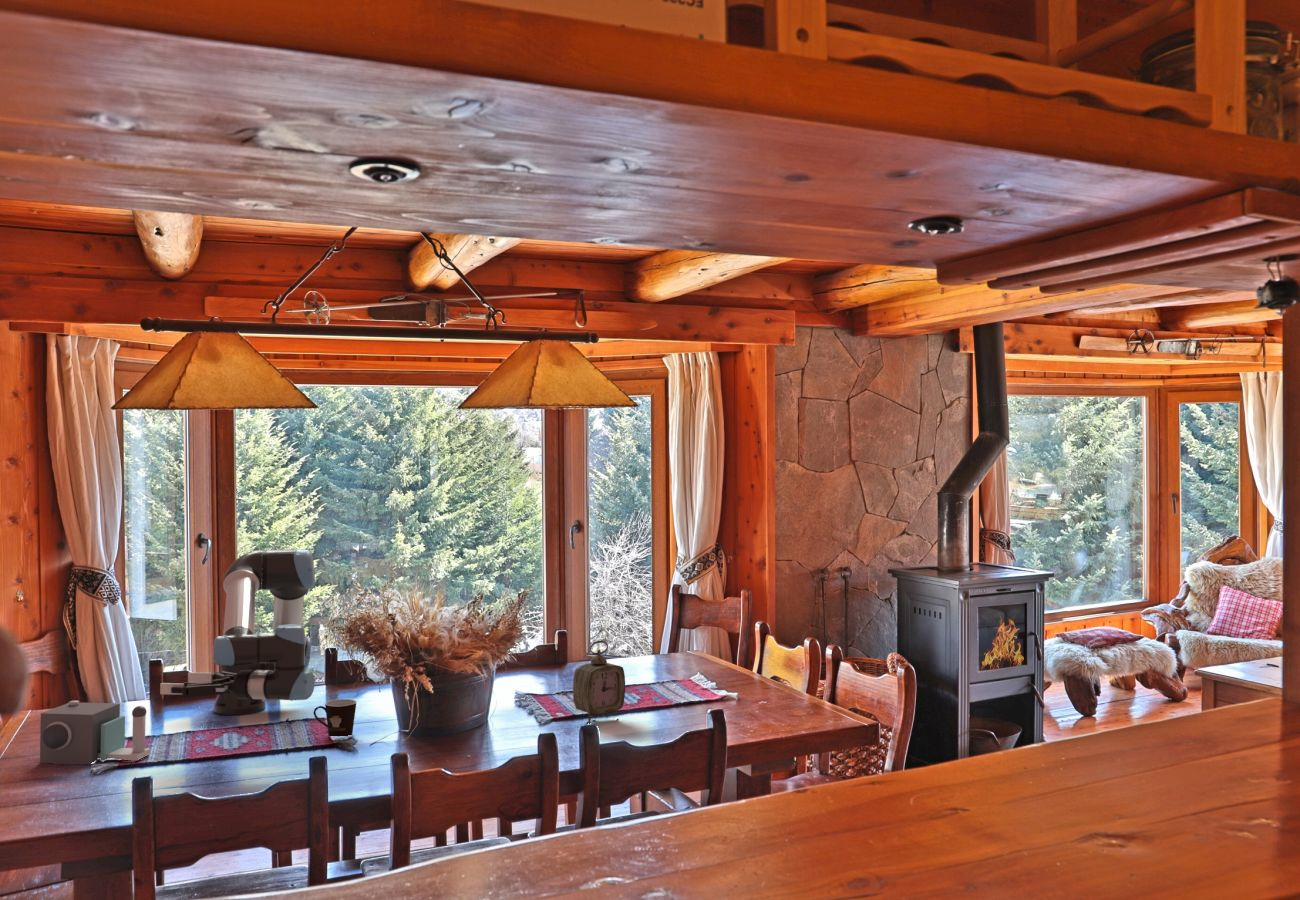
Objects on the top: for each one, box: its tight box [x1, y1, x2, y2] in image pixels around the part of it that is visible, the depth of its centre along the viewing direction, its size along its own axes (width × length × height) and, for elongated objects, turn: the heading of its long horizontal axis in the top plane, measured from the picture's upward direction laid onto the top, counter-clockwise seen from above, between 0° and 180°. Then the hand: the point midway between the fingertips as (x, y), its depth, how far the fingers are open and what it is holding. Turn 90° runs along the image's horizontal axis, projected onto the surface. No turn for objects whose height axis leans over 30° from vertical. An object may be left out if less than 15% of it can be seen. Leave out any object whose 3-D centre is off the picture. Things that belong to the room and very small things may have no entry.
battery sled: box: [98, 705, 151, 761], centre depth 265 cm, size 19×9×14 cm, turn 87°
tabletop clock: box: [572, 640, 626, 725], centre depth 307 cm, size 14×9×25 cm, turn 131°
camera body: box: [39, 700, 121, 766], centre depth 264 cm, size 14×14×14 cm
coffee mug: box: [313, 698, 357, 737], centre depth 288 cm, size 12×9×10 cm
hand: (175, 682), depth 264 cm, fingers open, 13 cm apart
